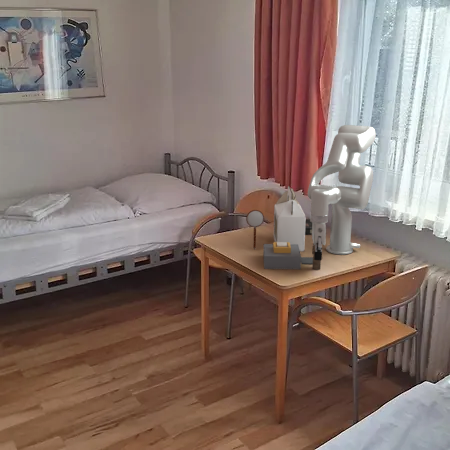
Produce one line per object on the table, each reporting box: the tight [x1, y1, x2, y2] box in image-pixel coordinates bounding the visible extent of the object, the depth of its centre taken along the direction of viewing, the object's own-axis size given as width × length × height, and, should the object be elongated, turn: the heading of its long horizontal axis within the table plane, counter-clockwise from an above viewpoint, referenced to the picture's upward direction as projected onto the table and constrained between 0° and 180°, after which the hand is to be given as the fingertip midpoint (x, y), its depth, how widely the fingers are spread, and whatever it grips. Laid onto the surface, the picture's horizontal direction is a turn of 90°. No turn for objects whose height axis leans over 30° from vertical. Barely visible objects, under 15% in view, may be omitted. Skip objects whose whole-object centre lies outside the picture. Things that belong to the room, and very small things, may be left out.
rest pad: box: [301, 256, 313, 266], centre depth 250 cm, size 8×8×1 cm
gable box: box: [273, 185, 307, 252], centre depth 269 cm, size 22×13×28 cm, turn 179°
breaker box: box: [262, 241, 302, 270], centre depth 248 cm, size 16×16×8 cm
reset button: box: [277, 242, 287, 247], centre depth 247 cm, size 4×4×6 cm
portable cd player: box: [305, 218, 313, 236], centre depth 295 cm, size 16×17×4 cm
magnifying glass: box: [245, 209, 265, 250], centre depth 263 cm, size 9×2×20 cm, turn 97°
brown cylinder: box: [312, 243, 322, 271], centre depth 239 cm, size 4×4×15 cm
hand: (316, 256), depth 240 cm, fingers open, 6 cm apart
